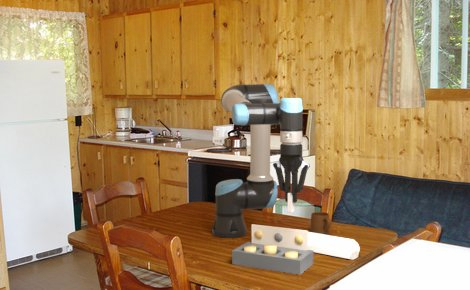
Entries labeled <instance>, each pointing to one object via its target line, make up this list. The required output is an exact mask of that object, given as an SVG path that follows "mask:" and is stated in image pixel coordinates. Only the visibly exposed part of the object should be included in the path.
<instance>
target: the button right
mask: <svg viewBox="0 0 470 290" xmlns="http://www.w3.org/2000/svg"><path fill="white" fill-rule="evenodd" d="M285 257H289V258H298V252H295V251H287V252H285Z"/></svg>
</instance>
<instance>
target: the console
mask: <svg viewBox="0 0 470 290" xmlns="http://www.w3.org/2000/svg"><path fill="white" fill-rule="evenodd" d="M308 232H309V230H304V229H296V228H288V227H281V226H271V225H261V224H254V223H252V224H251V241H247V242H245V243H244V244H241V245H240V246H238V247H236V248H234V249H233V250H232V251H231V261H232V262H231V264H232V265H235V266H241V267H248V268H252V269H259V270H260V269H261V270H266V271H271V270H272V271H273V272H278V271H279V272H280V273H284V272H285V273H286V274H290V273H291V275H296V274H298V275H297V276H301V275H302V274H303V273H305V272H306V271H307V270H309V268H310V267H312V266H313V265H314V252H313V250H308ZM267 244H274V245H276V246H277V254H276V255H268V254H264V245H267ZM248 245H252V246H256V252H247V251H244V246H248ZM287 251H295V252H298V258H289V257H285V252H287ZM304 271H305V272H304ZM285 273H284V274H285Z"/></svg>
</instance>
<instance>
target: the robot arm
mask: <svg viewBox="0 0 470 290" xmlns="http://www.w3.org/2000/svg"><path fill="white" fill-rule="evenodd" d="M220 103H221V106H222V108H223V109H224V110H225V111H226V112H228V113H231V120H232V123H233V125H235V126H250V148H249V149H250V152H249V153H250V161H249V162H250V165H249V166H250V169H249V170H250V172H249V173H250V174H249V175H248V176H247V177H246V182H244V181H243V180H242V179H239V178H235V179H234V178H233V179H226V180H222V181H219V182H218V183H217V184H216V186H215V193H214V195H215V219H214V222H213V225H212V228H211V232H212V233H211V235H213V236H214V237H217V238H222V239H223V238H224V239H225V238H226V239H231V238H241V237H244V236H246V235H247V233H248V229H247V225H246V222H245V219H244V215H243V213H244V212H243V210H256V209H257V210H258V209H262V210H265V209H271V208H273V207H274V206H275V205H276V203H277V199H278V193H279V190H280V191H281V192H284V194H285V195H284V197H285V199H284V201H285V203H287V213H294V212H295V210H296V209H295V208H296V207H295V206H296V203H297V201H298V193H300V192H302V191H303V189H304V186H305V182H306V181H305V180H306V178H307V177H306V176H307V172H308V170H309V169H310V167H311V165H310V163H306V162H305V161H304V158H303V144H302V143H303V110H304V107H303V100H302V98H300V97H282V98H281V99H280V102H279V95H278V92H277V89H276V87H275V86H274V85H273V84H267V83H264V84H263V83H260V84H259V83H258V84H255V83H253V84H235V85H232V86H229V87H228V88H227V89H226V90H224V91H223V93H222V94H221V97H220ZM271 125H279V127H280V129H279V131H280V133H279V138H280V139H279V140H280V141H279V142H280V145H279V149H280V150H279V151H280V152H279V154H280V157H279V159H278V161H276V162H274V163H272V166H273V168H274V170H275V173H276V178H277V181H276V180H274V177H273V176H272V174H271ZM300 167H301V171H300V175H298V173H299V169H300ZM282 169H283V170H282ZM283 171H284V172H283ZM283 173H284V174H283ZM298 177H299V178H298ZM277 182H278V183H277ZM278 185H279V190H278Z"/></svg>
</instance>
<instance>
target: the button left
mask: <svg viewBox="0 0 470 290" xmlns="http://www.w3.org/2000/svg"><path fill="white" fill-rule="evenodd" d="M244 251H247V252H256V246H252V245H248V246H244Z"/></svg>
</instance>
